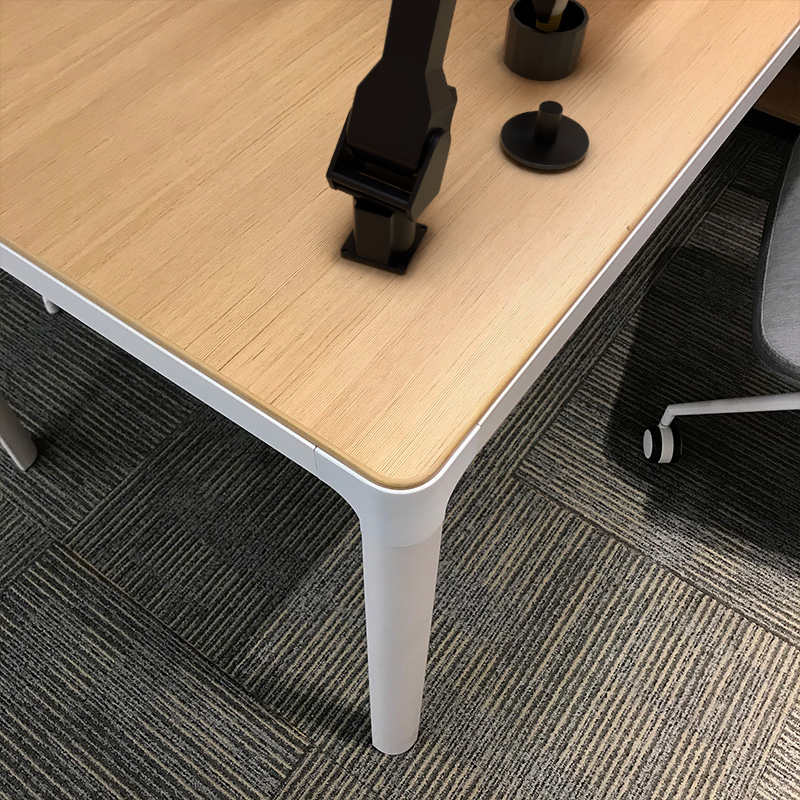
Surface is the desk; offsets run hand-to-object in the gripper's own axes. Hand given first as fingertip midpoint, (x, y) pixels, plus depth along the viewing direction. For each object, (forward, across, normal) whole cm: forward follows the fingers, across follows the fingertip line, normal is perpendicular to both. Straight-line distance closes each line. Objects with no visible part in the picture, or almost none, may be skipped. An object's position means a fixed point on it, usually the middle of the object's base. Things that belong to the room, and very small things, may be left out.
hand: (549, 10), depth 85 cm
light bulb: (+3, 0, 0) cm, 3 cm away
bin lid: (+5, -16, -4) cm, 17 cm away
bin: (+6, 0, 0) cm, 6 cm away
